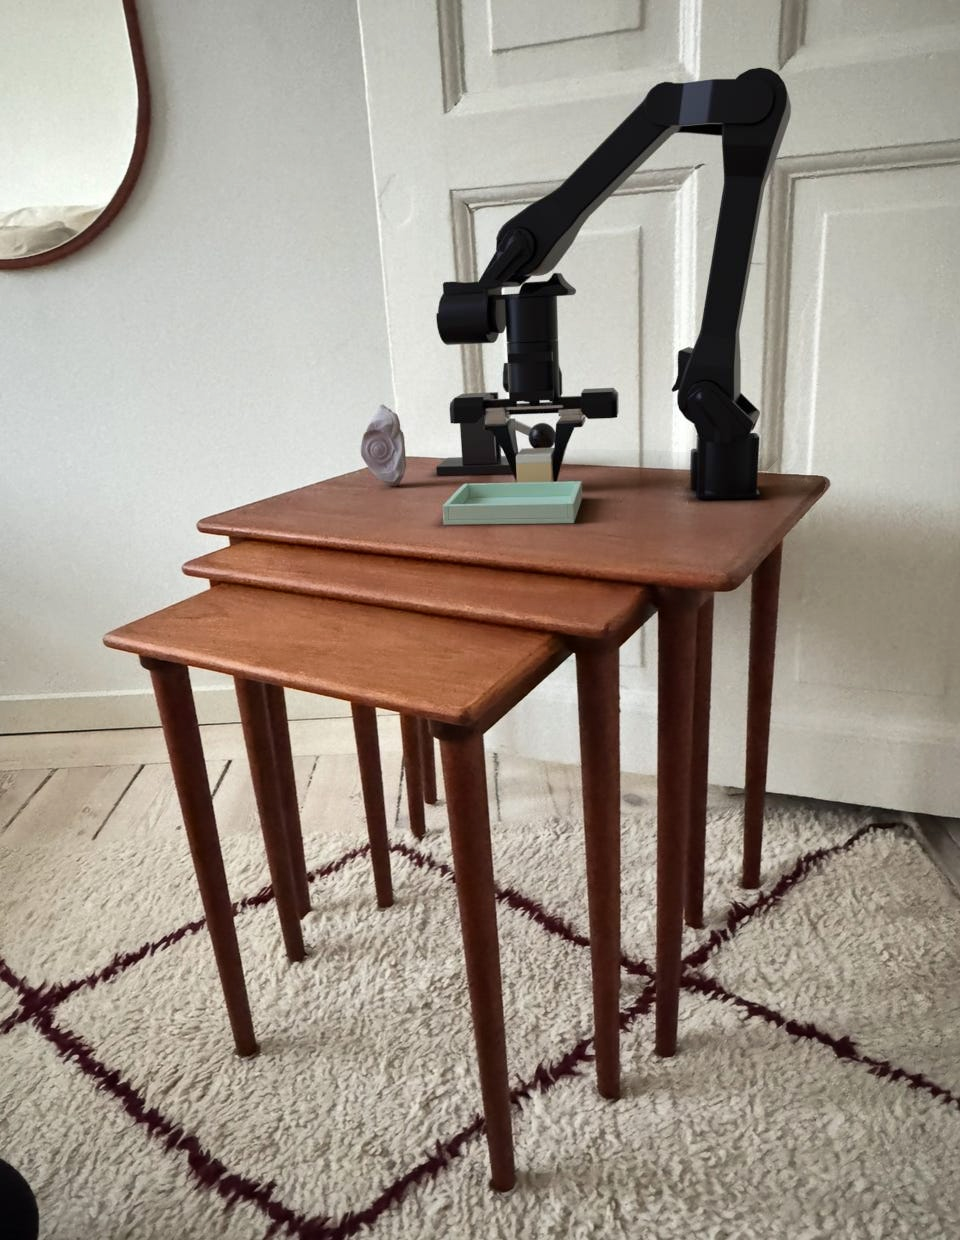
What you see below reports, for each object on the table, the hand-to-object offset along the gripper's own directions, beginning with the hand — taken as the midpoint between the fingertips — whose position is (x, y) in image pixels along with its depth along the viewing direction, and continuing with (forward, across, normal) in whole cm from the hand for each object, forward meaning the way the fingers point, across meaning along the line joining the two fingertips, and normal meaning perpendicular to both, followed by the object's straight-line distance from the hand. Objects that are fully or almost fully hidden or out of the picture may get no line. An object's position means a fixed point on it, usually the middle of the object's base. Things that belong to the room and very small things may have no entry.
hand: (537, 481), depth 104 cm
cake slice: (+1, 0, 0) cm, 1 cm away
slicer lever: (-3, +6, -14) cm, 15 cm away
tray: (+1, +1, +11) cm, 11 cm away
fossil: (+1, +19, -4) cm, 20 cm away
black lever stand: (+1, +9, -14) cm, 17 cm away
